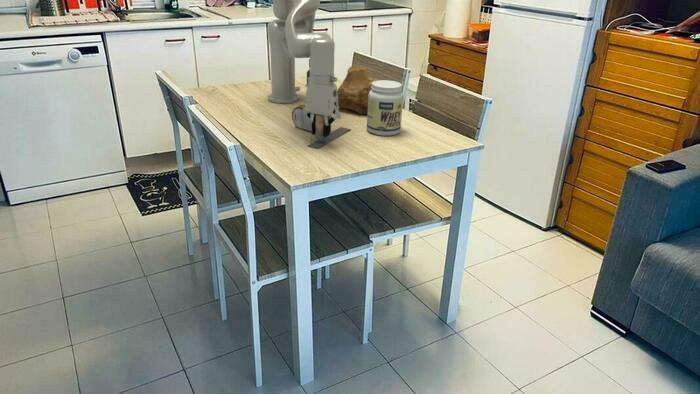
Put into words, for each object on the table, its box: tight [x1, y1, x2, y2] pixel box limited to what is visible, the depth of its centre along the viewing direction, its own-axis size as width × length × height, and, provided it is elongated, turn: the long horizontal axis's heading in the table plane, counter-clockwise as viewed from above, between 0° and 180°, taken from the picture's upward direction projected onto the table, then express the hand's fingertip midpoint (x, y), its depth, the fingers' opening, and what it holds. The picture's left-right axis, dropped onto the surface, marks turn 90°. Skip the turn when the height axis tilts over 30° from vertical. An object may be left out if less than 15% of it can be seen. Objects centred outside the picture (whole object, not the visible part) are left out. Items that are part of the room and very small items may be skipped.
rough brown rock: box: [337, 66, 381, 116], centre depth 208 cm, size 23×17×15 cm
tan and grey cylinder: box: [314, 114, 326, 140], centre depth 172 cm, size 4×4×8 cm
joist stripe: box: [307, 126, 352, 150], centre depth 180 cm, size 22×4×1 cm, turn 152°
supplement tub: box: [366, 79, 404, 137], centre depth 185 cm, size 12×12×17 cm
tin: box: [291, 104, 312, 133], centre depth 184 cm, size 15×3×8 cm, turn 56°
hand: (321, 134), depth 174 cm, fingers closed on tan and grey cylinder, 3 cm apart
